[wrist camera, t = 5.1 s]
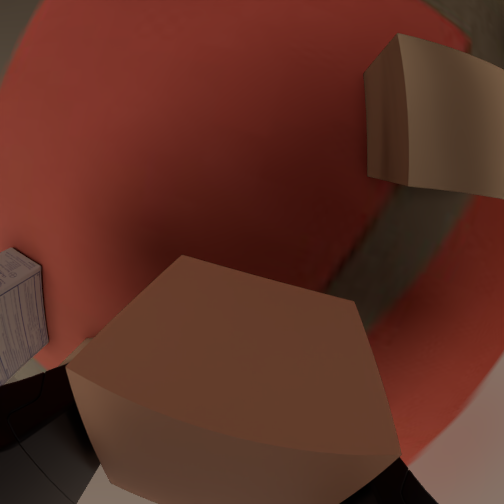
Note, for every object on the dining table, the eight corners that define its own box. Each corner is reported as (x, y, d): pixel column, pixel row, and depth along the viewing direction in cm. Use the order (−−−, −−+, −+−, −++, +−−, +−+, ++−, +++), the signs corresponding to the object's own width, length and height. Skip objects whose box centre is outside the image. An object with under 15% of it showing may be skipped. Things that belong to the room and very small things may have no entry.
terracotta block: (354, 301, 8) (401, 454, 3) (298, 412, 9) (290, 531, 4) (182, 254, 8) (65, 366, 3) (168, 376, 9) (110, 483, 5)
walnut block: (451, 91, 10) (508, 72, 5) (454, 185, 11) (515, 201, 6) (362, 74, 10) (397, 33, 6) (366, 176, 12) (408, 186, 7)
